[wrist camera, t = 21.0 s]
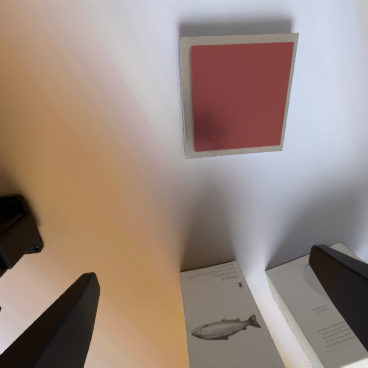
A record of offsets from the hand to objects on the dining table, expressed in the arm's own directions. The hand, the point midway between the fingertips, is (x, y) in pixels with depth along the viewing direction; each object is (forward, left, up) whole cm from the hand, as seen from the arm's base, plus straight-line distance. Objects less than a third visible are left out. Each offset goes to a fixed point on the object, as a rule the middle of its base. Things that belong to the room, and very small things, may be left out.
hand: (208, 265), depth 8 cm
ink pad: (+5, +6, -12) cm, 14 cm away
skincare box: (+16, -16, -12) cm, 26 cm away
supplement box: (+3, -16, -12) cm, 20 cm away
